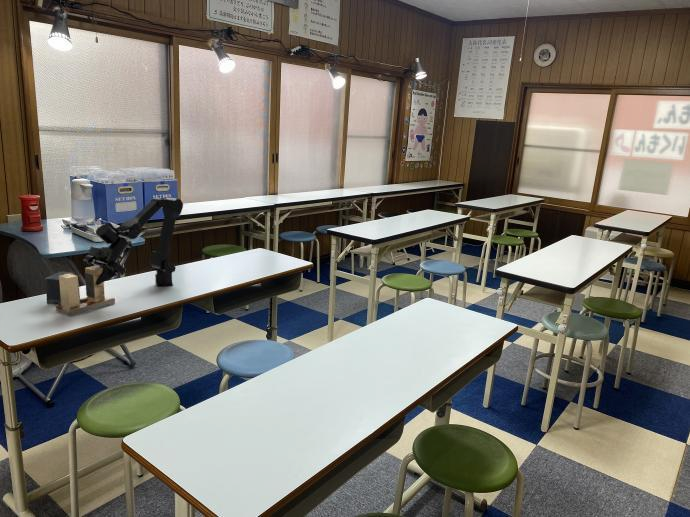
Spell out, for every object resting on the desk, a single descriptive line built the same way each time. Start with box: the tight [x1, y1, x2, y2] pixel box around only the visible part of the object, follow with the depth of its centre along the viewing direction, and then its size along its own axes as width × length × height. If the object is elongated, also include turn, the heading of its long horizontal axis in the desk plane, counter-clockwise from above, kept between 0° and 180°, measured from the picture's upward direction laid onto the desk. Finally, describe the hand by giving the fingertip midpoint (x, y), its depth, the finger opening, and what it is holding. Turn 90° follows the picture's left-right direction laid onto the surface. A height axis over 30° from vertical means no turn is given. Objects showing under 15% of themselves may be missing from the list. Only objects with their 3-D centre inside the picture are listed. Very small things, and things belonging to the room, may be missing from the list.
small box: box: [44, 270, 76, 305], centre depth 199 cm, size 11×6×10 cm, turn 179°
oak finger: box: [84, 266, 106, 302], centre depth 196 cm, size 5×5×13 cm
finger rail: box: [55, 274, 116, 317], centre depth 193 cm, size 18×9×14 cm, turn 151°
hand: (91, 283), depth 195 cm, fingers open, 5 cm apart
